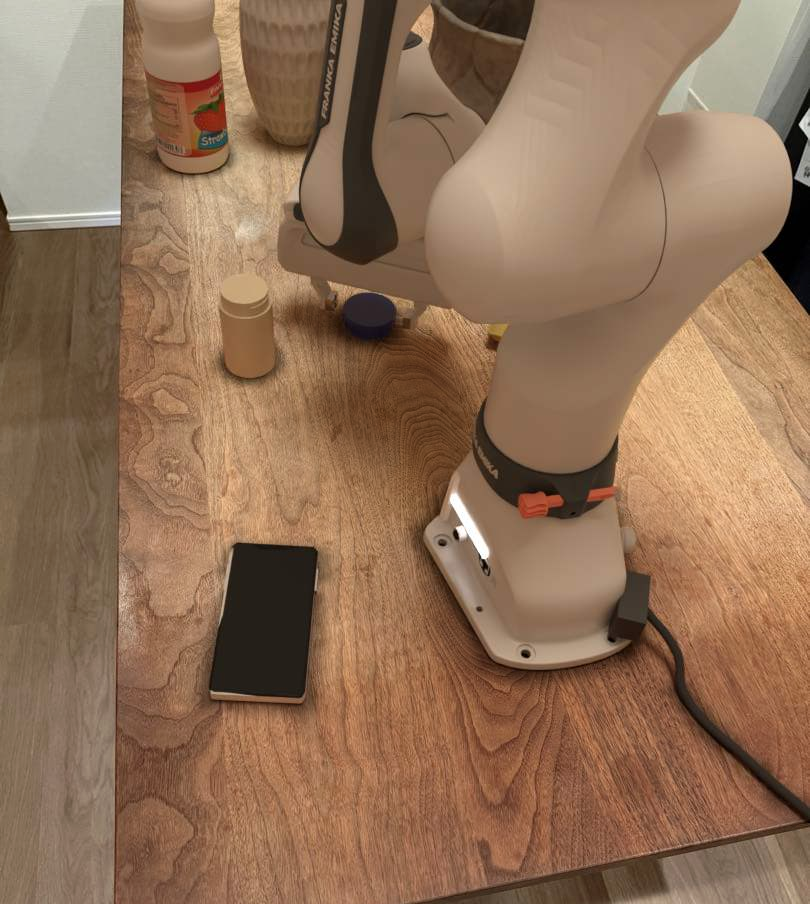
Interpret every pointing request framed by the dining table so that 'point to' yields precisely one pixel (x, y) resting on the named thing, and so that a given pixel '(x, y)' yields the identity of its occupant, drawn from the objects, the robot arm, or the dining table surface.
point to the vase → (284, 63)
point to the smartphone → (265, 624)
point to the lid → (369, 316)
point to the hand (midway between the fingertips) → (369, 317)
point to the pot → (479, 47)
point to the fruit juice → (184, 83)
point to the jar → (247, 325)
